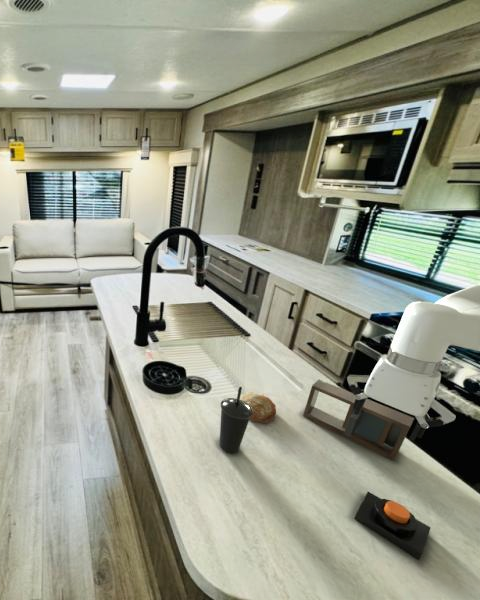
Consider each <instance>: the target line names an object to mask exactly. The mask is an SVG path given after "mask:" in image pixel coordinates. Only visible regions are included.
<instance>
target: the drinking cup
mask: <svg viewBox="0 0 480 600" xmlns="http://www.w3.org/2000/svg"><path fill="white" fill-rule="evenodd" d="M242 390H243V387H242V386H238V390H237V396H236V398H235V397H226V398H224V399H222V400H221V402H220V408H221V409H220V427H219V448H220V449H221V450H222V451H224V452H225V453H227V454H232V455H233V454H236V453H238V452H239V450H240V447H241V445H242V442H243V439H244V436H245V433H246V430H247V429H248V428H247V427H248V425H249V423H250V420H251V419H250V417H251V416H252V414H253V410H252V408H251V407H250V406H249V405H248V404H247V403H246V402H244V401H242V400H241V395H242Z"/></svg>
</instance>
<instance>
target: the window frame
mask: <svg viewBox="0 0 480 600" xmlns="http://www.w3.org/2000/svg"><path fill="white" fill-rule="evenodd" d="M319 393H322V394H324V395H326V396H329V397H331V398H334V399H335V400H337V401H338V400H339V401H340V402H343V403H345V404H347V405H349V406H350V405H352V406H353V405H354V402H355V400H356V398H355V397H354V396H355V395H354V394H353V392H352V391H349V390H347V389H343V388H342V387H339V386H336V385H333V384H331V383H329V382H327V381H324V380H321V379H320V378H319V379H317V380H316V381H315V382H314V383H313V384H312V385H311V388H310V391H309V395H308V397H307V401H306V403H305V407H304V410H303V411H304V412H303V414H302V416H303V417H304V418H305V419H306V418H307V419H308V420H310V421H312V422H315V423H316V424H317V425H320V426H323V427H325V428H327V429H329V430H331V431H332V432H334V433H336V434H339V435H340V436H343V437H345V438H347V439H349V440H351V441H353V442H354V443H356V444H358V445H361V446H363V447H365V448H367V449H369V450H371V451H373V452H375V453H377V454H379V455H380V456H383V457H385V458H387V459H389V460H391V461H393V462H395V460H396V458H397V456H398V454H399V453H400V450H401V447H402V445H403V443H404V441H405V439H406V437H407V435H408V433H409V430H410V428H411V427H412V425H413V422H414V420H415V417H413V416H411V415H408V414H407V413H406V414H405V413H404V412H400V411H398V410H397V409H393V408H392V407H389V406H386V405H383V404H381V403H378V402H376V401H373V400H371V399H368V398H366V401H365V403H364V406H363V408H362V410H364V411H366V412H368V413H371V414H373V415H375V416H378V417H380V418H382V419H385V420H387V421H389V422H392V423H393V424H392V426H391V428H390V431H389V433H388V435H387V437H386V440H385V442H384V444H383V446H380V445H378V444H377V443H374V442H372V441H370V440H368V439H366V438H364V437H362V436H360V435H358V434H356V433H354V432H353V433H352V435H351V436H350V437H348V436H346V435H344V432H345V428H343V427H342V426H343V423H344V420H343V419H340V418H339V417H337V416H335V415H332V414H330V413H328V412H325V411H323V410H321V409H319V408H317V407H315V405H316V402H317V399H318V396H319Z"/></svg>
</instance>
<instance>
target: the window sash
mask: <svg viewBox="0 0 480 600" xmlns="http://www.w3.org/2000/svg"><path fill="white" fill-rule="evenodd" d="M354 412H355V409H354V408H353V406H352V405H350V404H349V406H348V410H347V412H346V415H345V418H344V420H343V421H344V423H343V426H342V427H343V428H345V432H344V435H346V436H348V437H350V436H351V435H352V433H353V432H354V433H356V434H358V435H360V436H362V437H364V438H366V439H368V440H370V441H372V442H374V443H377V444H378V445H380V446H383V444H384V442H385V440H386V437H387V435H388V433H389V431H390V428H391V426H392V424H393V423H392V422H389V421H387V420H385V419H382V418H380V417H378V416H375V415H373V414H371V413H368V412H366V411H364V410H362V411H361V412H360V413H359V414H358V415H356V414H354Z"/></svg>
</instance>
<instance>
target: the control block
mask: <svg viewBox="0 0 480 600" xmlns="http://www.w3.org/2000/svg"><path fill="white" fill-rule="evenodd" d="M388 501H393V502H395V501H394V500H390V499H388V498H381V497H379V496H377V495H375V494H374V493H372V492H370V491H367V492H366V494H365V496H364V497H363V500H362V502H361V503H360V505H359V507H358V509H357V511H356V513H355V515H354V518H353V519H354V520H355V521H357V522H358V523H359V524H361V525H362V526H365V527H366V528H367V529H368V530H370V531H372V532H374V533H375V534H377V535H378V536H379V537H381V538H383V539H384V540H386V541H387V542H389V543H390V544H392V545H394V546H395V547H397V548H398V549H400V550H401V551H403V552H404V553H406V554H407V555H409V556H411V557H412V558H413V559H415V560H416V561H420V560H421V558H422V555H423V554H424V552H425V548H426V544H427V541H428V538H429V534H430V532H431V528H432V527H431V526H429V525H428V524H426V523H424V522H422V521H421V520H418V519H417V518H416V517H415V515H414V514H413V513H411V512H410V511H409V513H410V518H409V520H408V522H407V523H405V524H401V523H398V522H396V521H394V520H393V519H391V518H389V517H388V516H387V515H386V514H385V512H384V507H385V505H386V503H387V502H388Z"/></svg>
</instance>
